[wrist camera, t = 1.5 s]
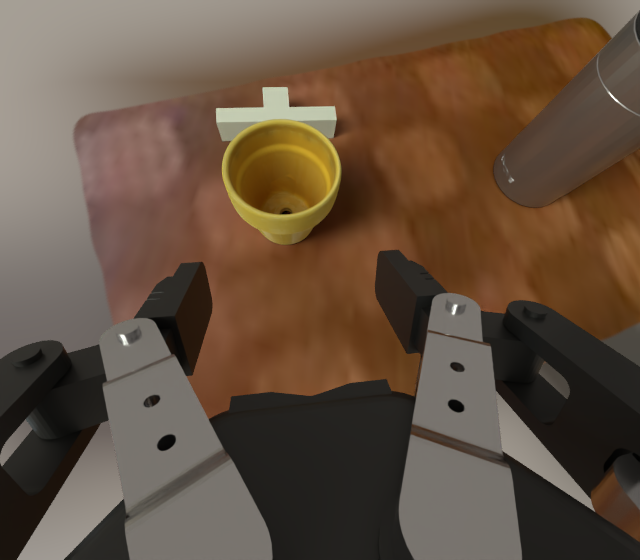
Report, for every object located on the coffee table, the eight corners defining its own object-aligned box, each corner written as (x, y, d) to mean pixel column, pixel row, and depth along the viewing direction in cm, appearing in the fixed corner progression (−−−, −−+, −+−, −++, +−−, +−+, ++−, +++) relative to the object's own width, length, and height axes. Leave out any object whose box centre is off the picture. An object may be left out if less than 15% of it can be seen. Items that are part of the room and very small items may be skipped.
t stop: (329, 106, 40) (331, 86, 37) (333, 137, 39) (336, 119, 36) (221, 108, 39) (215, 87, 36) (222, 141, 37) (216, 122, 35)
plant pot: (263, 167, 37) (254, 100, 28) (342, 199, 37) (358, 142, 27) (224, 238, 34) (198, 190, 25) (309, 273, 34) (315, 238, 24)
